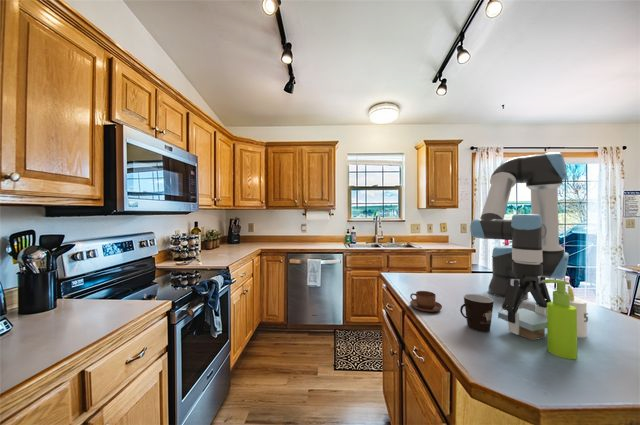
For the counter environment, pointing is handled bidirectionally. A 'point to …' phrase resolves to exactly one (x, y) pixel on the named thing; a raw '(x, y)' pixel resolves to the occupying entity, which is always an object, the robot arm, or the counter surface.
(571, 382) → the counter surface
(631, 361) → the counter surface
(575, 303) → the white bottle
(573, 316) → the soap dispenser
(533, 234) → the robot arm
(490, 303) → the coffee mug
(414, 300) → the cup and saucer
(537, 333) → the block
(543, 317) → the lid
